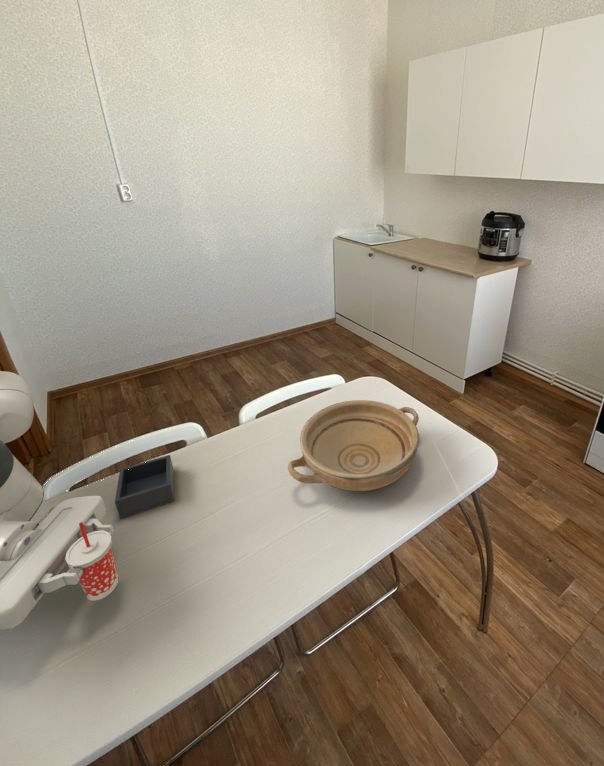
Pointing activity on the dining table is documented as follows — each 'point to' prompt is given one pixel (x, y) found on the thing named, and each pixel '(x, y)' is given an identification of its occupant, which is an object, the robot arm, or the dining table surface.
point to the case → (145, 486)
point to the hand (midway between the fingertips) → (96, 553)
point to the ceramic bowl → (357, 445)
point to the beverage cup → (94, 563)
